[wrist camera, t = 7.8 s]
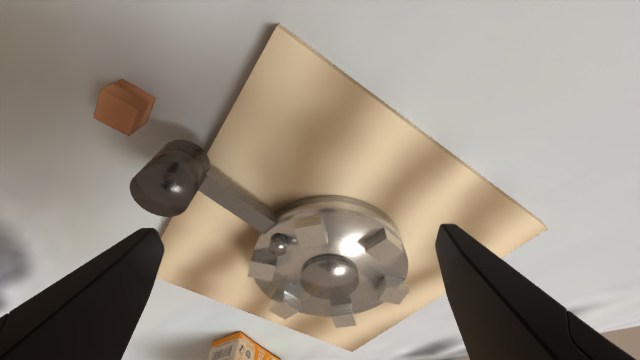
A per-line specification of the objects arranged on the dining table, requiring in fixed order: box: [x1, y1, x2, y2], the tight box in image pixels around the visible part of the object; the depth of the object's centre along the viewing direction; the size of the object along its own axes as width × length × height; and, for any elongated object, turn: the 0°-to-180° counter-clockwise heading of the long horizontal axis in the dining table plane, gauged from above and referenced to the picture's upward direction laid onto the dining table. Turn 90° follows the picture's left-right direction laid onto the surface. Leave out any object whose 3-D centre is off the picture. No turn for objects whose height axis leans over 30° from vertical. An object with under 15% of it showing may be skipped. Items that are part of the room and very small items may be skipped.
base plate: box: [93, 24, 548, 352], centre depth 23 cm, size 30×24×2 cm
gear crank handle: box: [130, 140, 409, 328], centre depth 21 cm, size 20×12×4 cm, turn 45°
